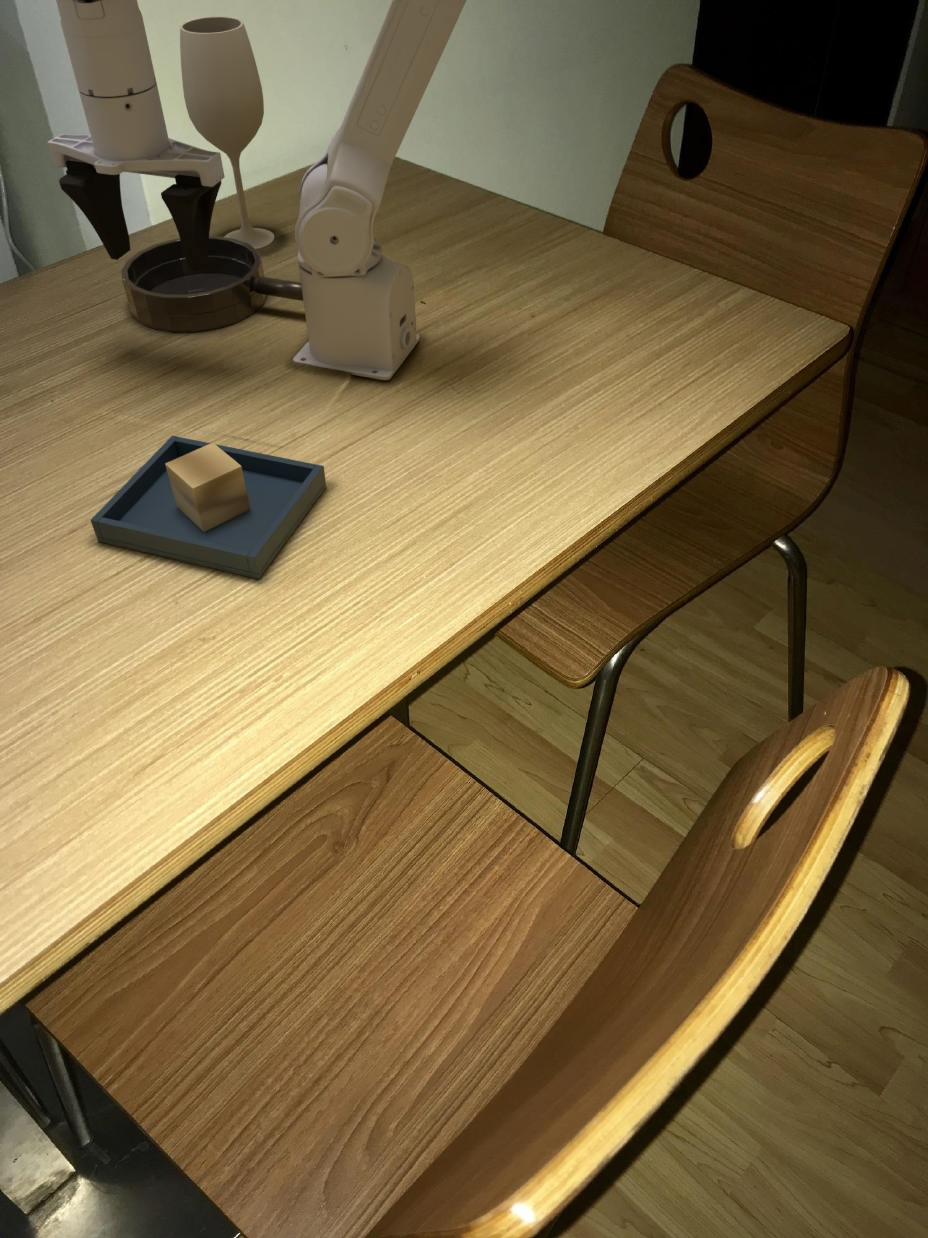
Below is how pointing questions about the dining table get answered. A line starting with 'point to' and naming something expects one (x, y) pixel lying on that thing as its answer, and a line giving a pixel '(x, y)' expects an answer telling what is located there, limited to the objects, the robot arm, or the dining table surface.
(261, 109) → the wineglass
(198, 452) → the cube
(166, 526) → the tray
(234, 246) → the pan
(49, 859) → the dining table surface
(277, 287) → the pan handle
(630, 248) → the dining table surface
